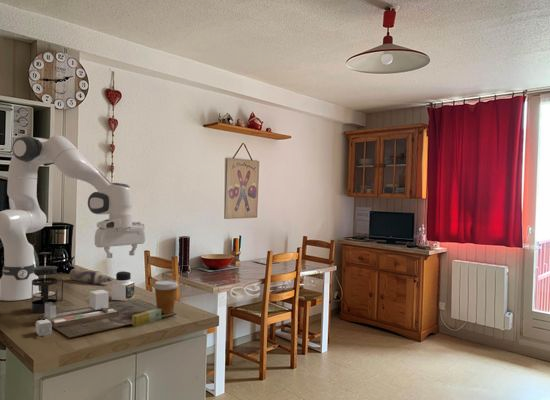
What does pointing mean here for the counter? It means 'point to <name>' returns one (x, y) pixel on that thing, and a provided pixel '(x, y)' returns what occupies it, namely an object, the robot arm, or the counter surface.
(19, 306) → the counter surface
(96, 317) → the gauge board
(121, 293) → the medicine bottle
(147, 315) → the medication box
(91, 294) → the block
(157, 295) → the disposable coffee cup
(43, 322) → the usb wall charger
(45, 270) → the french press
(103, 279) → the decorative bottle
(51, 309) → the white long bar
